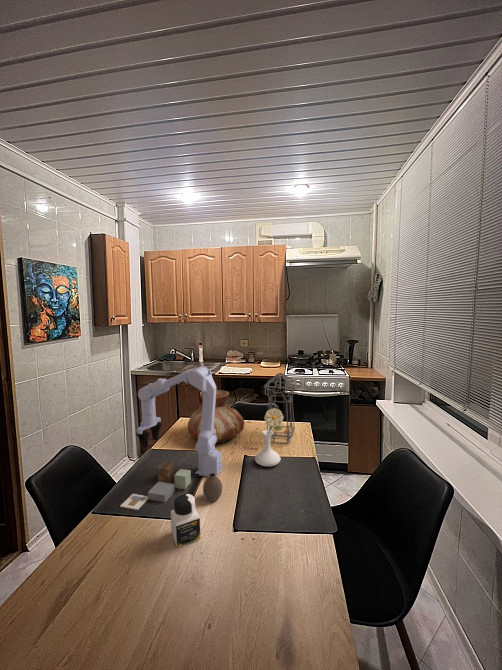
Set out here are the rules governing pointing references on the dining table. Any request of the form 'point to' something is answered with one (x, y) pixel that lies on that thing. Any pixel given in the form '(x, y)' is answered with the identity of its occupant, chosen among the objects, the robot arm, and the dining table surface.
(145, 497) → the card
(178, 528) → the medicine bottle
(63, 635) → the dining table surface
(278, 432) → the geometric lantern
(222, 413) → the jug
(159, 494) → the grey square block
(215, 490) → the brown coconut
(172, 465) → the walnut block
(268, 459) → the flower in vase
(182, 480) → the sage block
